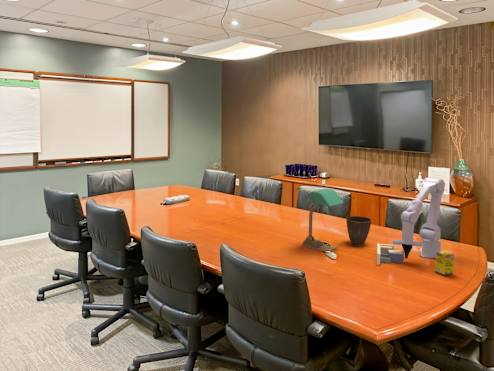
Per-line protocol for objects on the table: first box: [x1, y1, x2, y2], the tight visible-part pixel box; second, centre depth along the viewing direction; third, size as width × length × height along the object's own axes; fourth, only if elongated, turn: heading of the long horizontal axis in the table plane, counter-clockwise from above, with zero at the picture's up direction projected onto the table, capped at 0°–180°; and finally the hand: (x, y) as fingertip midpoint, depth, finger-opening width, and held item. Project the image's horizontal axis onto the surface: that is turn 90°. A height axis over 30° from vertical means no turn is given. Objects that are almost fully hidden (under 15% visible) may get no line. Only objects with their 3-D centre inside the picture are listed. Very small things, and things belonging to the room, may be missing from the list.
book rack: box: [376, 243, 395, 266], centre depth 233 cm, size 9×19×6 cm, turn 164°
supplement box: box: [434, 249, 455, 277], centre depth 213 cm, size 6×6×11 cm
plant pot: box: [345, 215, 373, 247], centre depth 261 cm, size 15×15×16 cm
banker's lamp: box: [301, 188, 344, 253], centre depth 252 cm, size 16×21×35 cm
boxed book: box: [387, 249, 405, 264], centre depth 231 cm, size 8×4×6 cm, turn 76°
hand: (406, 257), depth 230 cm, fingers closed
